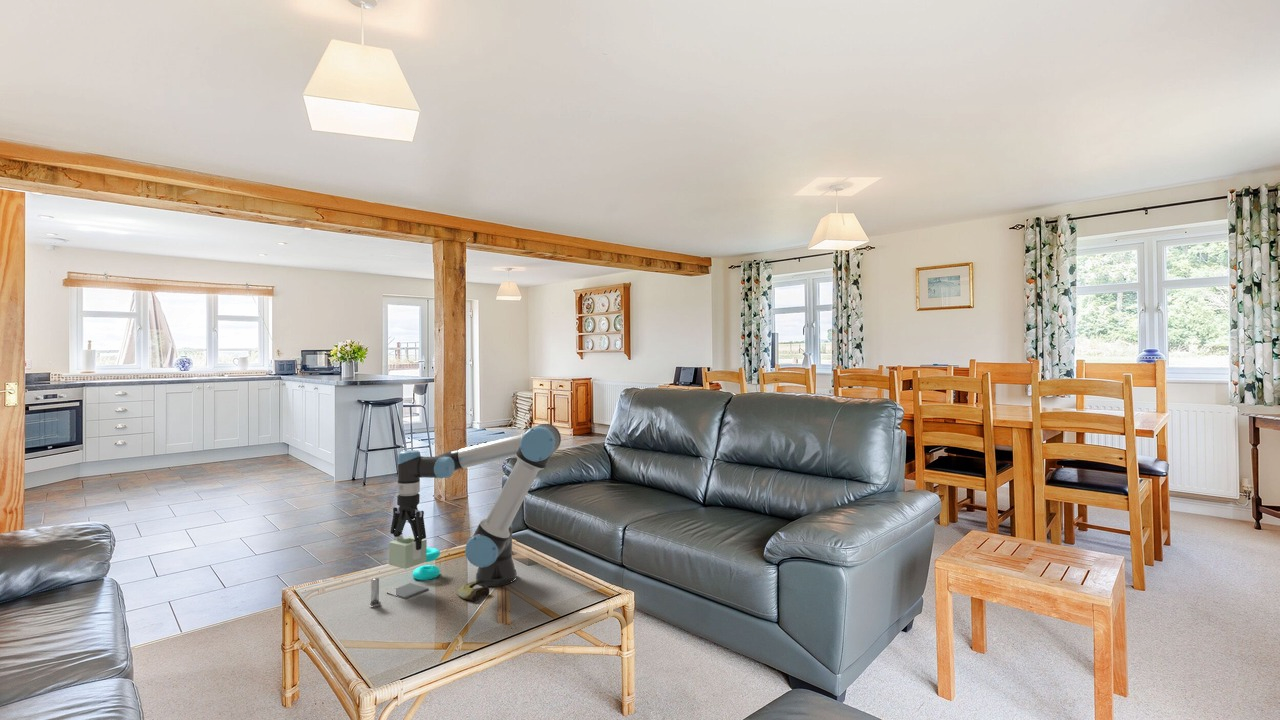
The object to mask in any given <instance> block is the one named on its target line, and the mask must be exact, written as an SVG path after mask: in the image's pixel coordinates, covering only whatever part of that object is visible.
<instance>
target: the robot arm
mask: <svg viewBox="0 0 1280 720" xmlns="http://www.w3.org/2000/svg"><path fill="white" fill-rule="evenodd" d="M561 441H562V437H561V433H560V431H559V430H558V428H557V427H556V426H555V425H552V424H550V423H542V424H538V425H534V426H532V427H529V429H526V430H523V432H522V433H520V434H515V435H511V436H507V437H505V438H500V439H496V440H492V441H488V442H483V443H479V444H475V445H472V446H467V447H466V446H465V447H461V448H460V449H459V448H458V449H455V450H449V451H448V450H447V451H446V452H444V453H441V454H438V455H436V456H421V452H420V451H419V450H414V449H413V450H410V449H409V450H402V451H400V452H399V453H398V454H397V456H398V457H397V464H396V465H397V496H396V497H397V498H396V500H397V501H396V505H397V506H396V507H393V509H392V510H393V511H392V514H393V515H392V519H391V525H390V534H391V535H393V536H394V541H395V540H398V539H402V538H404V535H403V530H404V529H405V525H406V522H407V523H408V524H410V528H411V531H412V535H413V537H414V539H415V540H413V560H415V559H418V558H421V547H422V539H427V532H426V526H425V520H424V515H425V512H424V510H419V509H418V505H419V504H420V496H421V495H420V491H421V487H420V486H421V481H420V480H421V479H420V478H422V479H423V478H426V479H427V478H429V479H430V478H431V479H433V478H434V479H445V478H446V479H448V478H451V477H452V476H453V475H454V473H455V471H459V470H463V469H466V468H470V467H474V466H475V467H476V466H478V465H482V464H483V465H484V464H487V463H492V462H495V461H500V460H504V459H508V458H513V457H516V462H515V464H514V465H513V467H512V469H511V472H510V473H509V476H508V477H507V480H506V481H505V483H504V484H503V487H502V489H501V491H500V493H499V495H498V497H497V498H496V500H495V502H494V504H493V505H492V508H491V510H490V512H489V513H488V515H487V518H484V519H481V520H480V522H479V524H478V526H477V527H476V529H475V531H474V533H473V535H472V536H471V537H470V538H469V539H468V540H467V542H466V545H465V547H464V553H465V556H466V559H467V561H468V562H469V563H470V564H471V565H473V566H475V567H477V568H478V569H477V572H476V575H475V581H476V582H477V583H476V584H477V585H479V586H481V587H485V586H487V587H500V586H505V584H506V585H509V584H511V583H510V582H511V581H513V580H514V579H515V578H516V576H517V570H516V568H515V564H514V560H513V528H514V527H513V522H514V519H515V517H516V516H517V514H518V511H519V509H520V508H521V506H522V504H523V502H524V501H525V498H526V497H527V495H528V492H529V490H530V488H531V486H532V485H533V482H535V479H536V477H537V475H538V473H539V471H542V470H544V469H546V467H547V465H548V463H549V461H550V459H551V457H552V455H553V454H554V453H555V452H556V451H557V450H558V449H559V447H560V446H561V444H562V443H561ZM516 579H517V578H516ZM508 583H509V584H508Z"/></svg>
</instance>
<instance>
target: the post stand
mask: <svg viewBox="0 0 1280 720" xmlns="http://www.w3.org/2000/svg"><path fill="white" fill-rule="evenodd" d="M370 583H371V584H370V587H371V588H370V602H369V603H370V605H371V606H373V607H376V608H379V607H381V606H382V604H381V603H382V602H381V601H380V596H379V595H380V578H379V577H373V578H371V579H370Z"/></svg>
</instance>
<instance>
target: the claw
mask: <svg viewBox="0 0 1280 720" xmlns="http://www.w3.org/2000/svg"><path fill="white" fill-rule="evenodd" d="M476 584H477V582H476V580H474V581H471V582H468V583H465V584H464V585H462V586H461V587H460V588H459V589H458V590H457V596H459V597H460V598H461V599H464V600H467V601H473V602H476V601H477V600H478V599H479V598H481V597H482V598H483V597H485V596H488V595H490V589H489V586H480V587H475V588H471V587H472V586H474V585H476Z"/></svg>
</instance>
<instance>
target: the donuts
mask: <svg viewBox="0 0 1280 720" xmlns="http://www.w3.org/2000/svg"><path fill="white" fill-rule="evenodd" d="M440 556H441V551H440V549H438V548H435V547H427V549H426V562H425V563H429V562H433V561H436V560H437V559H438V558H439V557H440ZM440 573H441V570H440V568H439V566H437V565H433V564H425V565H421V566H418V567H416V568H415V569H414V570H413V571H412V577H413V579H415V580H419V581H427V580H432V579H435V578H437V577H438V576H439V575H440Z"/></svg>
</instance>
